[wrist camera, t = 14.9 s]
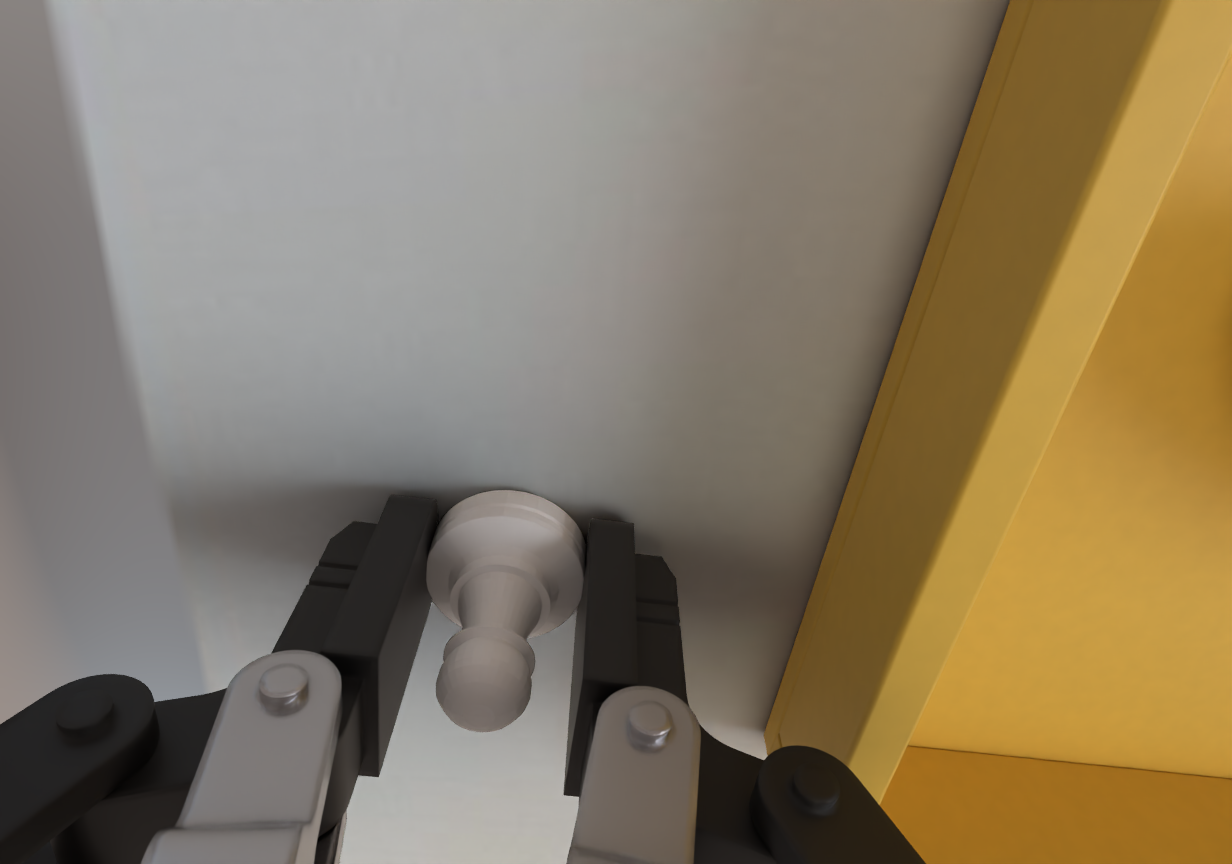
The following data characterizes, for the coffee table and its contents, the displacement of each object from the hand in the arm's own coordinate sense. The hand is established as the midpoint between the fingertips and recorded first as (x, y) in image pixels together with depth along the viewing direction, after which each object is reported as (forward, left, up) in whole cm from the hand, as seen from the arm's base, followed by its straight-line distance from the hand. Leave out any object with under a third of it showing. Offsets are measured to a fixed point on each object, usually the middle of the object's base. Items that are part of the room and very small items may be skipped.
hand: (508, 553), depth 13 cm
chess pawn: (0, 0, 0) cm, 0 cm away
